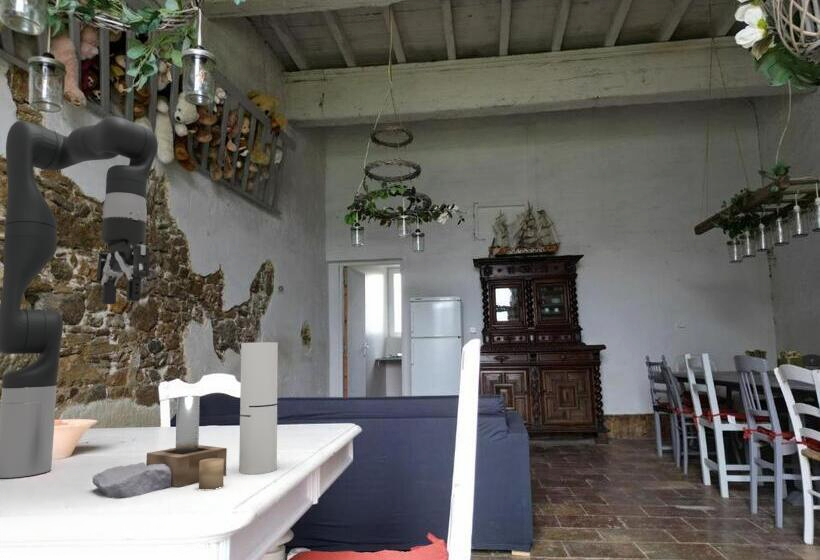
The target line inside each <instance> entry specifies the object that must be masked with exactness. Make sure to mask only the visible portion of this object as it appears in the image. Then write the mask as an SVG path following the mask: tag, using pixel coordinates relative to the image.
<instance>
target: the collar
mask: <svg viewBox="0 0 820 560" xmlns="http://www.w3.org/2000/svg"><path fill="white" fill-rule="evenodd" d="M175 450H176V447H172V448H167V449H162V450H157V451H156V450H155V451H152V452H151V451H150V452H147V453H146V464H145V465H146V466H148V465H153V464H165V465H166V466H168V467H170V470H171V475H172V478H171V486H170V487H173V486H174V487H175V488H182V487H186V486H189V484H190V485H193V483H194V484H197V482H198V483H199V462H200V461H201V460H204V459H210V458H223V459H224V477H225V476H227V457H228V454H227V447H219V446H211V445H202V444H199V447H198V452H194V453H189V454H184V455H181V454H175ZM185 485H186V486H185ZM181 486H182V487H181Z"/></svg>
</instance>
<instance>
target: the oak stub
mask: <svg viewBox="0 0 820 560" xmlns="http://www.w3.org/2000/svg"><path fill="white" fill-rule="evenodd" d="M224 478H225V476H224V459H223V458H210V459H204V460H201V461H200V462H199V482H198V490H200V489H213V490H217V489H216V488H218V489H220V488H219V487H221V488H223V487H224ZM222 486H223V487H222Z"/></svg>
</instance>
